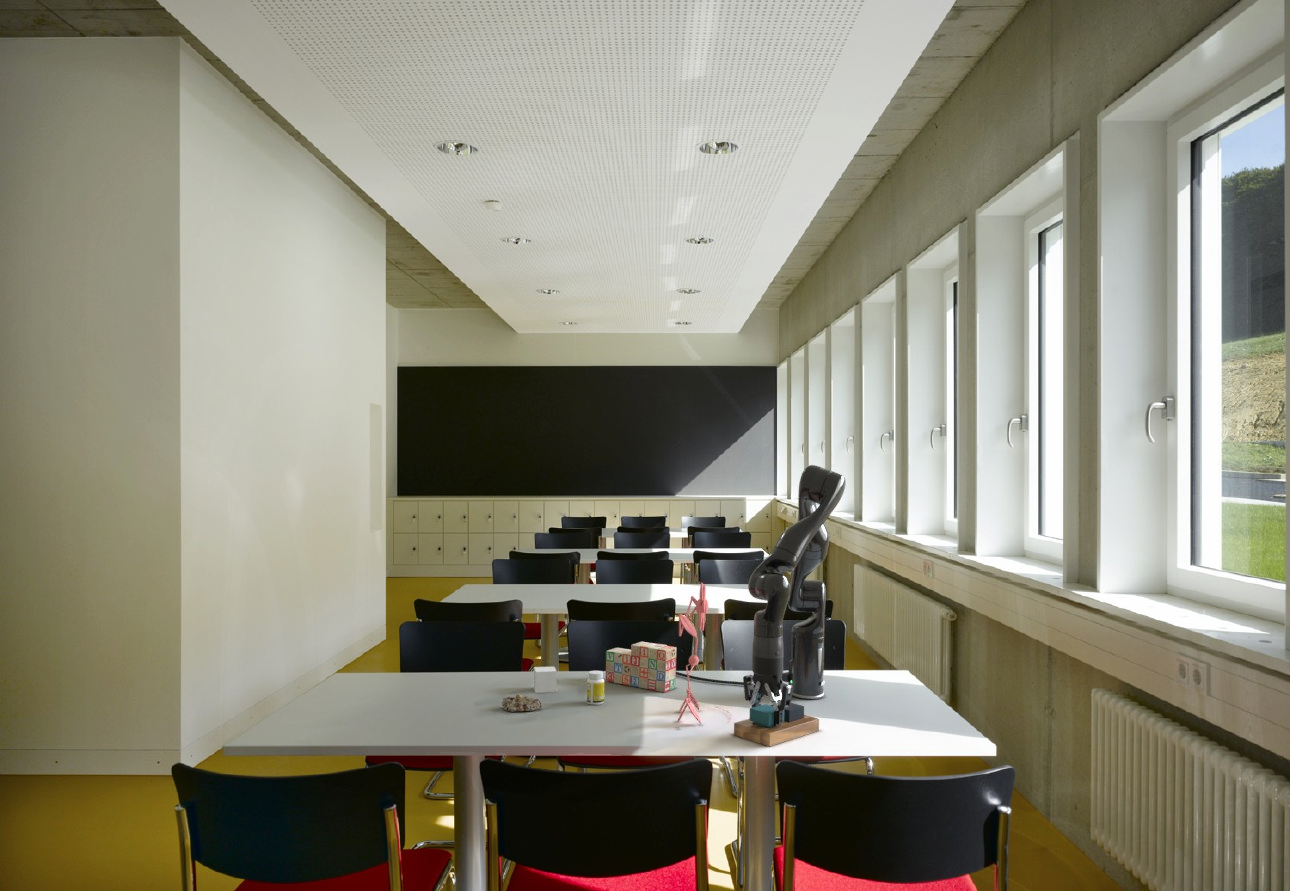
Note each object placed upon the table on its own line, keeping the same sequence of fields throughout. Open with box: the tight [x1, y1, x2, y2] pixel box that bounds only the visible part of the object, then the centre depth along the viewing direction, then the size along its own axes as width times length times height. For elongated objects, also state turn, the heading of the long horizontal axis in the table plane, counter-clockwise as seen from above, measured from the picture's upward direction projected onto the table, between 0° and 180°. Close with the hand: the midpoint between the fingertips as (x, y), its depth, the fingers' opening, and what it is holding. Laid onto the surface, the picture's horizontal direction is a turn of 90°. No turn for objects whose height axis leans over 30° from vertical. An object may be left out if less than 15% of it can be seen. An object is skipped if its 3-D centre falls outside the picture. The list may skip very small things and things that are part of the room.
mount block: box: [733, 714, 820, 747], centre depth 214 cm, size 11×19×3 cm, turn 133°
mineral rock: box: [501, 693, 542, 713], centre depth 231 cm, size 11×4×8 cm
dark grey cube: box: [769, 702, 805, 722], centre depth 217 cm, size 6×6×6 cm
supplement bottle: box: [586, 670, 605, 706], centre depth 238 cm, size 5×5×8 cm
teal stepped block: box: [749, 703, 784, 728], centre depth 211 cm, size 6×6×6 cm
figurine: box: [674, 582, 732, 729], centre depth 226 cm, size 15×26×35 cm, turn 175°
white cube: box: [533, 666, 558, 694], centre depth 251 cm, size 6×6×6 cm
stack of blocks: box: [605, 641, 677, 693], centre depth 259 cm, size 21×6×12 cm, turn 58°
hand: (766, 722), depth 211 cm, fingers closed on teal stepped block, 6 cm apart
